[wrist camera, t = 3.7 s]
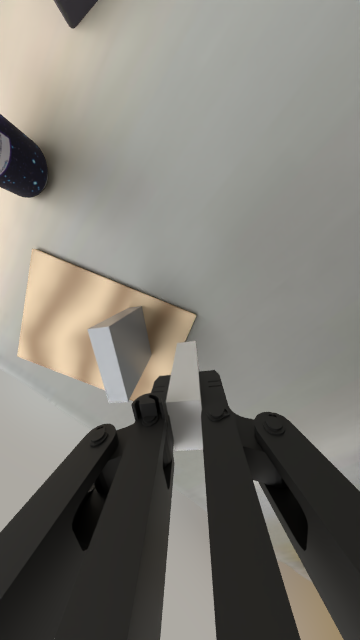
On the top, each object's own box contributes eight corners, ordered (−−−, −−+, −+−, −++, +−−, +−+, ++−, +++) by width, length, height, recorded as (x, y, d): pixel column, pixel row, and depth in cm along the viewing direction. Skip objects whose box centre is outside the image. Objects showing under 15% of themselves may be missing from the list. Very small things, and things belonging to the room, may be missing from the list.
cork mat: (196, 314, 22) (196, 315, 22) (155, 406, 27) (154, 409, 26) (36, 249, 22) (32, 248, 21) (21, 354, 26) (17, 356, 25)
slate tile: (141, 305, 22) (108, 326, 13) (151, 355, 24) (128, 401, 15) (128, 307, 22) (87, 329, 13) (139, 356, 24) (108, 403, 15)
